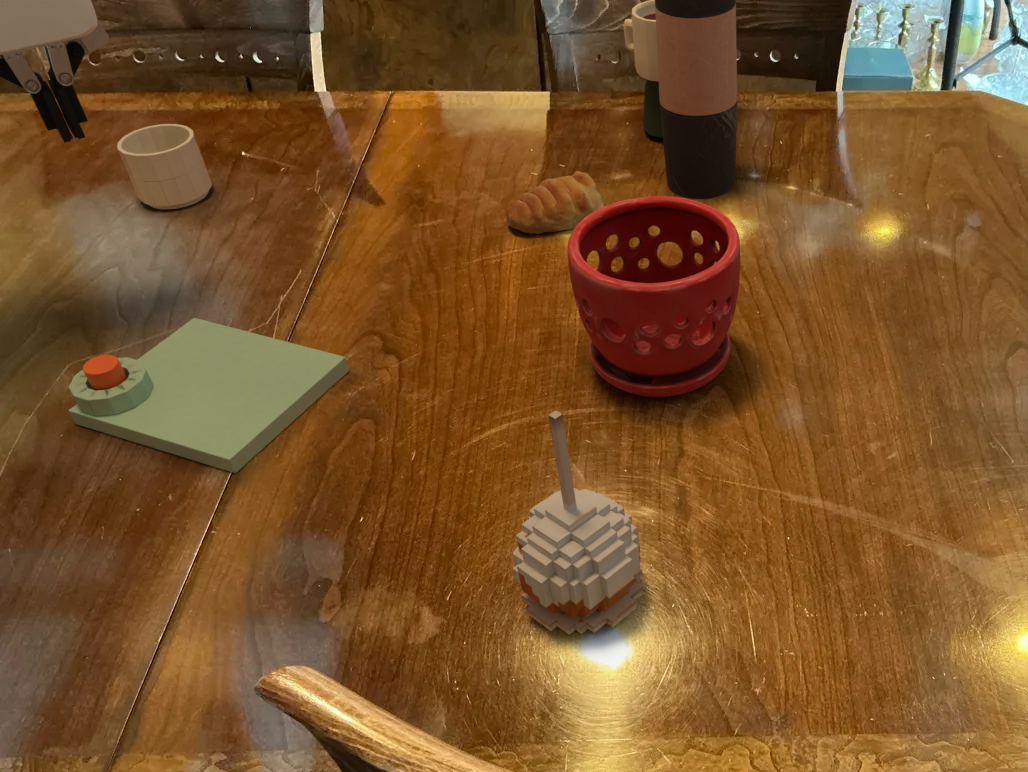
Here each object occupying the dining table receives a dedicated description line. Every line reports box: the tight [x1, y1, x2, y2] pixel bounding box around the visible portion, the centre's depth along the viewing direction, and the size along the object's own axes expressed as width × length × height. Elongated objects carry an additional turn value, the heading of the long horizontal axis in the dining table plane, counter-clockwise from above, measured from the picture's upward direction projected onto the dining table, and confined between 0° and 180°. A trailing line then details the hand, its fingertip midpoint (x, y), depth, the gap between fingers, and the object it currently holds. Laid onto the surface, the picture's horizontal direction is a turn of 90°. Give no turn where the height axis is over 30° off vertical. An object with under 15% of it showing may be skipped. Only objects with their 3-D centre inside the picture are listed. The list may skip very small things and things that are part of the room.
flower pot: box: [566, 195, 741, 398], centre depth 85 cm, size 13×13×12 cm
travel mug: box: [655, 0, 738, 199], centre depth 105 cm, size 8×8×20 cm
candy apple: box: [511, 409, 644, 635], centre depth 66 cm, size 8×8×15 cm
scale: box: [68, 317, 350, 474], centre depth 86 cm, size 17×14×3 cm
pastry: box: [505, 170, 604, 235], centre depth 106 cm, size 9×7×4 cm
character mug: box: [623, 0, 663, 139], centre depth 116 cm, size 11×7×13 cm, turn 58°
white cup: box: [116, 123, 213, 210], centre depth 110 cm, size 7×7×6 cm
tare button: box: [82, 354, 127, 391], centre depth 84 cm, size 3×3×2 cm
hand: (71, 133), depth 86 cm, fingers closed
